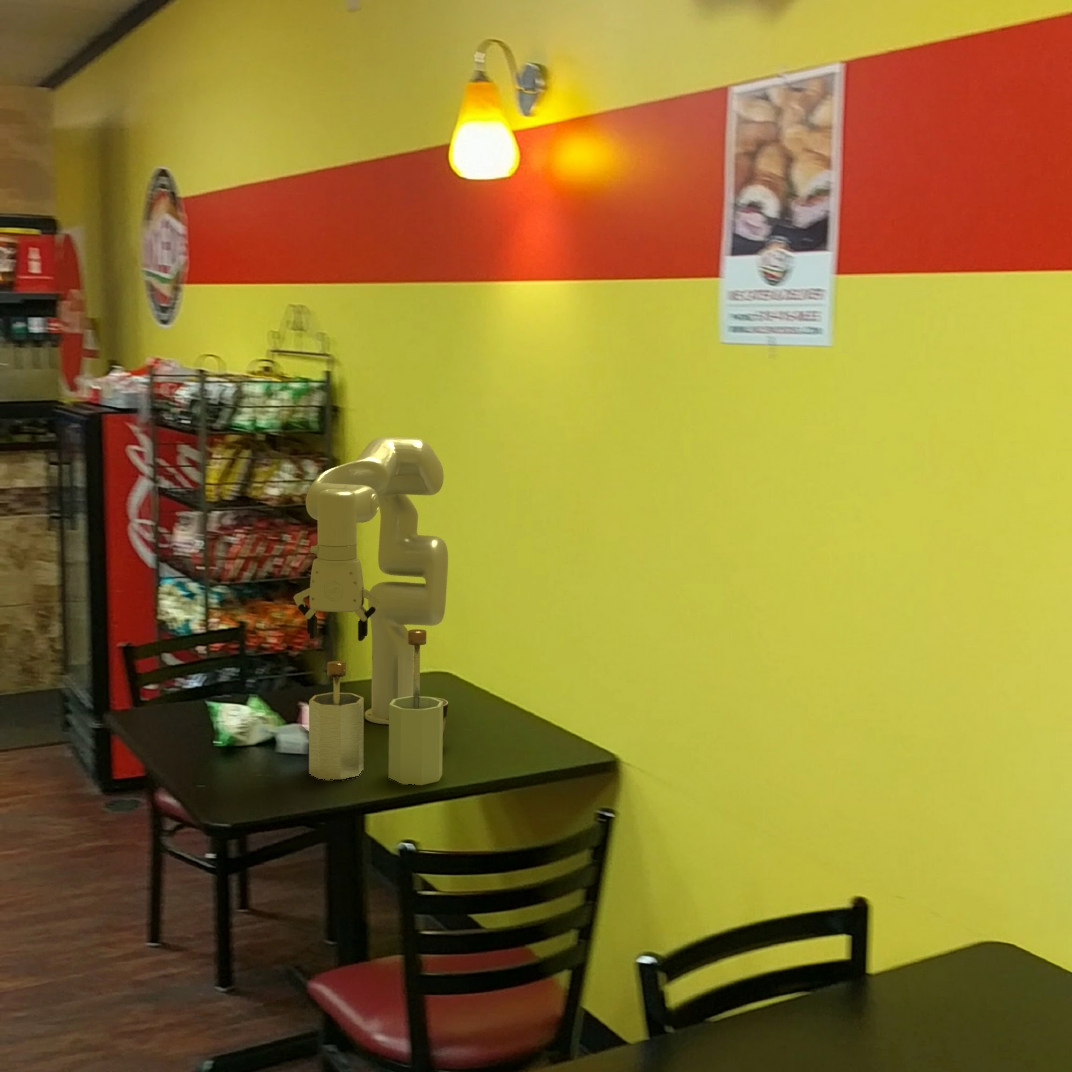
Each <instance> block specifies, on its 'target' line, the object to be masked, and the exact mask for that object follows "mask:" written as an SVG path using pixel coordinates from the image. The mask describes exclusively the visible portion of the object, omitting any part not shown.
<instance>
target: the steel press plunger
mask: <svg viewBox="0 0 1072 1072" xmlns="http://www.w3.org/2000/svg"><path fill="white" fill-rule="evenodd" d="M326 671H327V677H329V678H333V692H334V704H333V705H340V693H341V692H340V689H341V685H340V684H341V680H340V679H341V678H342V677H345V676H346V675H347V662H346V661H344V660H343V661H341V660H334V661H333V660H332V661H328V662H327V669H326Z"/></svg>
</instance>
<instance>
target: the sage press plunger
mask: <svg viewBox="0 0 1072 1072" xmlns="http://www.w3.org/2000/svg"><path fill="white" fill-rule="evenodd" d="M408 644H410V645H414V673H413V708H406V709H426V708H419V699H420V697H421V696H420V695H421V694H420V692H421V690H420V689H421V687H420V685H421V683H420V681H421V680H420V679H421V676H420V675H421V646H425V645H427V630H425V629H419V628H418V629H416V628H415V629H414V628H413V629H409V630H408Z"/></svg>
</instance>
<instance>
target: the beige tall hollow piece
mask: <svg viewBox="0 0 1072 1072" xmlns="http://www.w3.org/2000/svg"><path fill="white" fill-rule="evenodd" d="M364 702H365V698H364V696H361V695H359V694H355V693H354V692H353V693H352V692H340V705H333V704H334V691H331V692H327V693H326V692H325V693H321V694H320V693H319V694H314V695H313V696H312V697H311V698H310V699H309V700H308V774H311V775H310V776H311V777H313V776H314V778H315V777H316V778H315V779H317V778H318V779H317V780H319V779H323V780H322V781H331V780H330V779H333V780H334V779H346V778H349V777H355V776H359V774H360V773H361V771H362V770H363V771H364V743H365V741H364V737H365V736H364V733H365V731H364V725H365V724H364V723H365V722H364V721H365V709H364V708H365V707H364V706H365V703H364ZM361 774H362V773H361ZM361 774H360V775H361ZM359 777H360V776H359ZM324 779H325V780H324ZM333 780H332V781H333Z"/></svg>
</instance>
